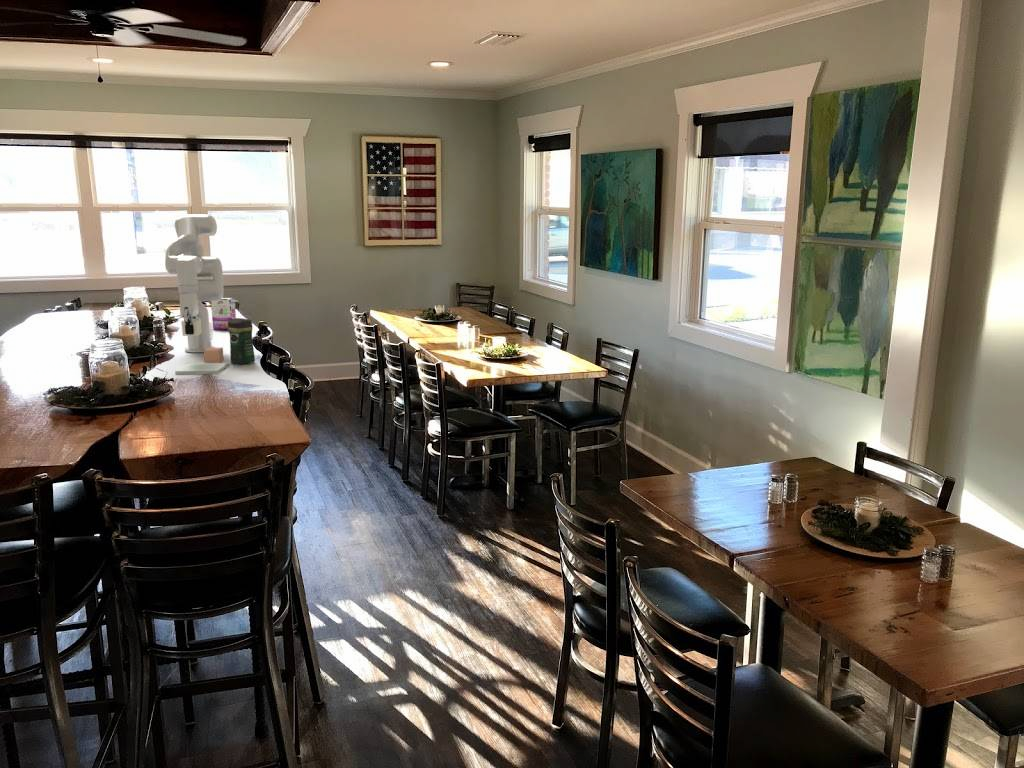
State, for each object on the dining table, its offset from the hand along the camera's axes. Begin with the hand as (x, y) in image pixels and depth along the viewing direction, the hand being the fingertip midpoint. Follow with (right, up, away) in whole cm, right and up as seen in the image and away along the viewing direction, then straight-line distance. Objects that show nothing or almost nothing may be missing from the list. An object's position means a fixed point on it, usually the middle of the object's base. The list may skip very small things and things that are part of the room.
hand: (192, 332), depth 331 cm
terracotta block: (+8, -13, +3) cm, 15 cm away
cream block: (0, -1, 0) cm, 1 cm away
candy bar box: (-18, +7, +89) cm, 92 cm away
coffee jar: (+20, -13, +4) cm, 24 cm away
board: (+9, -16, -11) cm, 21 cm away
